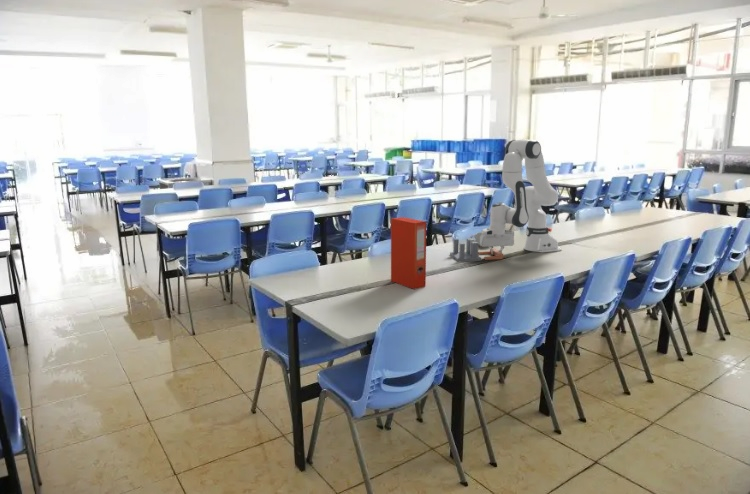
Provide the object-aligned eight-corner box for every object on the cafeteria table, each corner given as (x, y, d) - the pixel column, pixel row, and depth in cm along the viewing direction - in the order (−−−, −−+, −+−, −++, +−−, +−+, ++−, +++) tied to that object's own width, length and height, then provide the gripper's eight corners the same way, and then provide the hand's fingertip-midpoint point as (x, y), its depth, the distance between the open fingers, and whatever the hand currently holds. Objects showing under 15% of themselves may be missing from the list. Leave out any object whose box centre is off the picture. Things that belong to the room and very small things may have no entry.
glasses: (494, 253, 319) (494, 248, 318) (503, 258, 305) (503, 253, 304) (477, 254, 317) (477, 249, 317) (484, 259, 304) (484, 254, 303)
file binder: (403, 278, 268) (403, 216, 261) (425, 286, 254) (426, 221, 247) (391, 281, 263) (390, 218, 256) (413, 289, 250) (413, 223, 243)
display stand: (472, 253, 319) (472, 236, 316) (481, 260, 302) (481, 242, 300) (450, 254, 317) (450, 237, 314) (457, 261, 300) (458, 243, 298)
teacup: (490, 244, 344) (491, 232, 343) (492, 247, 334) (493, 235, 332) (469, 244, 346) (469, 232, 344) (470, 247, 335) (470, 235, 333)
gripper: (512, 228, 313) (511, 251, 316) (479, 230, 310) (478, 252, 313) (516, 230, 306) (515, 253, 309) (482, 232, 304) (481, 255, 307)
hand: (496, 253), depth 311 cm, fingers closed on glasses, 3 cm apart
